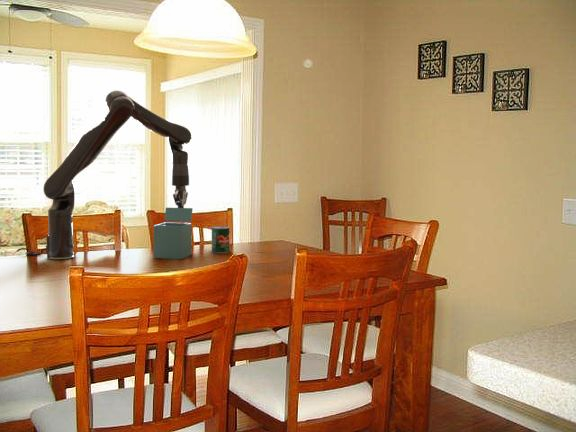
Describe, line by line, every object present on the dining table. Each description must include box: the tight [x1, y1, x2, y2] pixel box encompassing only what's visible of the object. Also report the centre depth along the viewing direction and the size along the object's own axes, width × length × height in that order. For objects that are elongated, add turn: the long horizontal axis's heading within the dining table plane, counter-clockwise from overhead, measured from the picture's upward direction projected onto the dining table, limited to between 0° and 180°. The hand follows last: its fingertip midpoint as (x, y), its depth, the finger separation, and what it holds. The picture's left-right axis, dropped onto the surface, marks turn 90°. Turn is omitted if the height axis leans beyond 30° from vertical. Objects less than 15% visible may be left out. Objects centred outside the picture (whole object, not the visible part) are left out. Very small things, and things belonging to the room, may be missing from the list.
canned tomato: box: [211, 225, 231, 254], centre depth 266 cm, size 8×8×11 cm
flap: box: [164, 207, 194, 223], centre depth 258 cm, size 12×6×1 cm
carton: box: [153, 221, 192, 260], centre depth 252 cm, size 12×12×14 cm
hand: (180, 214), depth 262 cm, fingers closed
